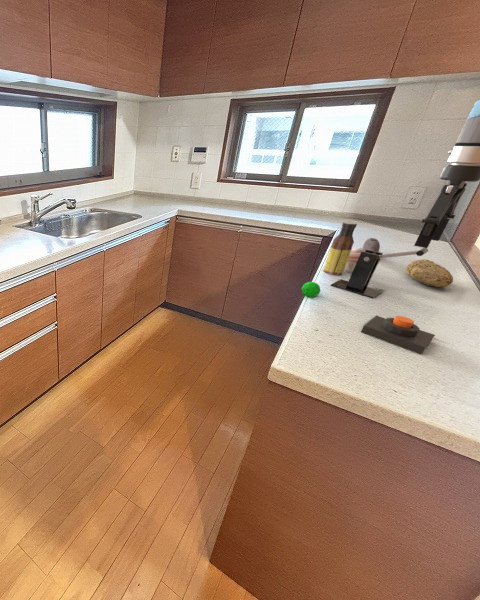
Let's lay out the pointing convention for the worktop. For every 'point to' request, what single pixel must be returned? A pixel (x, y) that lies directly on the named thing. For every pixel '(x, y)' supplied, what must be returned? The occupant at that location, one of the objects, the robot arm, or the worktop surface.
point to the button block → (398, 334)
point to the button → (403, 322)
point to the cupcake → (352, 260)
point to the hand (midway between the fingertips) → (426, 243)
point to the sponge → (429, 273)
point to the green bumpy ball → (311, 289)
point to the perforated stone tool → (371, 245)
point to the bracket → (362, 275)
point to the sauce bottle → (340, 250)
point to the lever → (404, 253)
